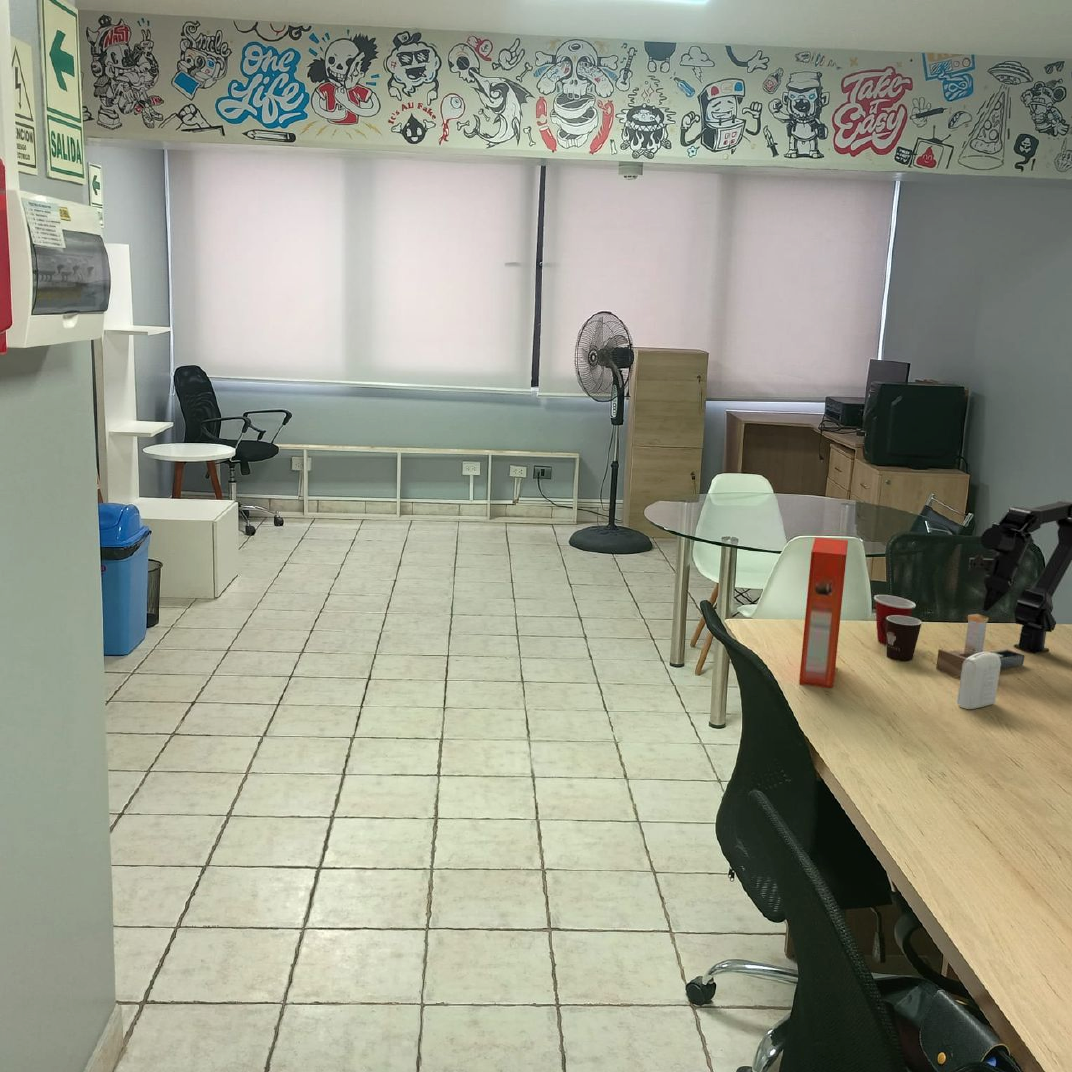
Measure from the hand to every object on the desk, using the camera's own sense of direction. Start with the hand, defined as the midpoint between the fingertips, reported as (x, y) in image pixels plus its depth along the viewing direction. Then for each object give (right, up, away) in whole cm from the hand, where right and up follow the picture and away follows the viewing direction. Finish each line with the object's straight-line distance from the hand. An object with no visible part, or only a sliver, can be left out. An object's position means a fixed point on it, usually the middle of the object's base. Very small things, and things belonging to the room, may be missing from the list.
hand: (984, 610), depth 284 cm
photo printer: (-16, -19, -35) cm, 43 cm away
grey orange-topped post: (-5, -13, -10) cm, 17 cm away
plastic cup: (-22, -9, +9) cm, 25 cm away
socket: (-10, -14, -12) cm, 22 cm away
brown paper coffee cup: (-23, -12, -2) cm, 26 cm away
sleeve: (+1, -14, -6) cm, 15 cm away
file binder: (-49, -14, -20) cm, 54 cm away
